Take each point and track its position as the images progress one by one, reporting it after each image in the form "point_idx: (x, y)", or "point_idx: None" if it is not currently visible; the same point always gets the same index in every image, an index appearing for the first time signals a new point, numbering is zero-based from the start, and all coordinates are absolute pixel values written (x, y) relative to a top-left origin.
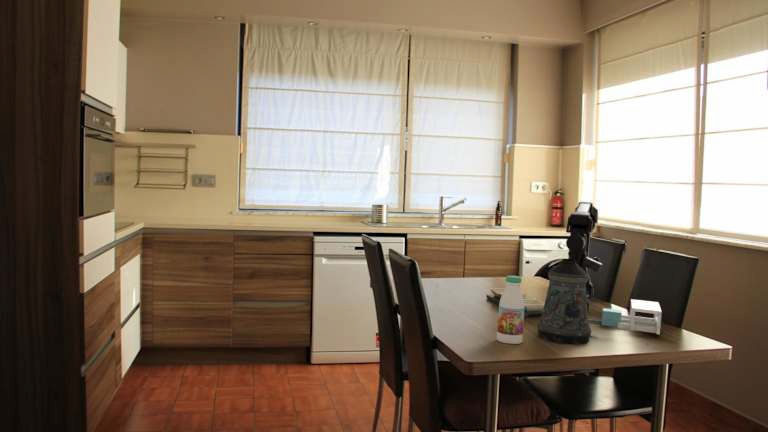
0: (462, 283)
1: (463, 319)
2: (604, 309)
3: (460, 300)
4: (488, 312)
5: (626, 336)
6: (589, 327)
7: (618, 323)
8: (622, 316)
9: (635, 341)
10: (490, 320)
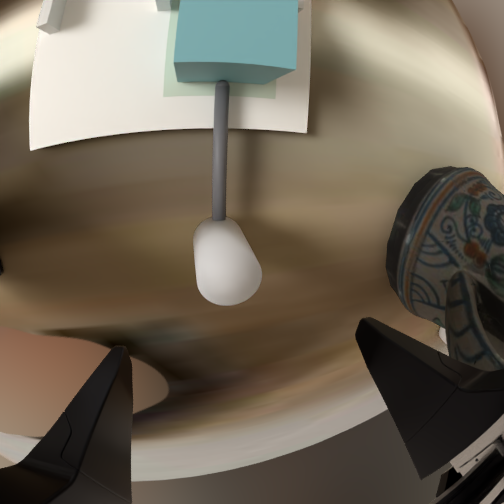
0: (3, 448)
1: (316, 427)
2: (232, 51)
3: (131, 465)
4: (211, 434)
5: (342, 10)
6: (487, 181)
7: (302, 7)
8: (55, 5)
9: (396, 10)
10: (303, 408)
